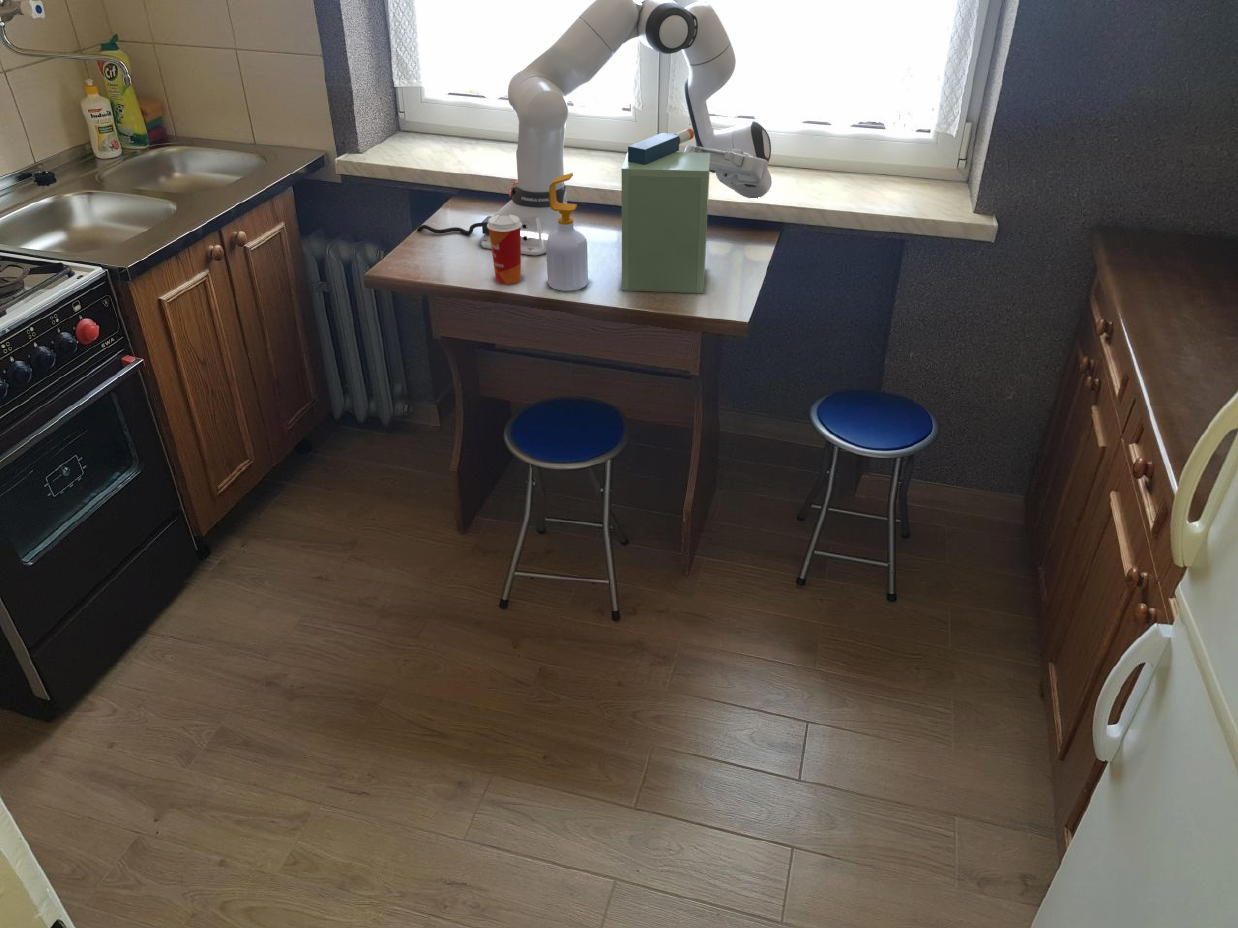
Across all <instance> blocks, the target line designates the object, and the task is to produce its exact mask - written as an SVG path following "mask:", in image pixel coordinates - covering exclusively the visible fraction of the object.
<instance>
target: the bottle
mask: <svg viewBox="0 0 1238 928" xmlns="http://www.w3.org/2000/svg"><path fill="white" fill-rule="evenodd" d="M693 138H695V136H694V132H693V128H690V127H689V128H686V129H682V130H681V131H678V132H672V133H667V132H661V133H658V134H655V135H653V136H650V137H647V138H645V139H643V140H640V141H638V142H635V143H632V144H630V145H628V146H627V152H628V162H633V163H638V164H642V165H646V164H649V163H651V162H653V161H656V160H658V159H660V158H663V157H665V156H667V155H670V154H672V153H674V152H680V145H681V144H683V143H686V142H688V141H690V140H692V139H693Z"/></svg>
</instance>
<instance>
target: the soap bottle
mask: <svg viewBox="0 0 1238 928" xmlns="http://www.w3.org/2000/svg"><path fill="white" fill-rule="evenodd" d="M573 176H574V173H573V172H570V173H568V174H564V175H562V176H559V177H557V178H556V179H555V180H554V181H553V182H552V183H551V185H550V186H549V196H550V207H551V209H552V210H554V211H559V213H560V214H562V218H559V219H558V230H557V231H555V232H553V233H552V234H551V235H550V236H549V237H548V238H547V242H546V253H545V255H546V271H547V274H546V275H547V285H548V286H549V288H552V289H554V290H557V291H562V292H571V291H572V292H573V291H574V292H575V291H578V290H581V289H583V288H585V287H586V286H587V285H589V284H588V283H589V268H588V267H589V264H588V263H589V261H588V240H587V238H586V236H585V235H584V234H583V233H582V232H580V231H579V230H577V229H575V228H574V226H575V225H574V218H573V217H571V216H570V215H571V214H573V212H575V210H576V209H577V208H578V204H577V203H568V202H567V203H558V201H557V199H556V184H557V183H561V182H564V183H565V182H567V181H569V180H571V179H572V177H573Z"/></svg>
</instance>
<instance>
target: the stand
mask: <svg viewBox="0 0 1238 928" xmlns="http://www.w3.org/2000/svg"><path fill="white" fill-rule="evenodd" d="M710 173H711V172H710V153H691V152H684V151H677V152H674V153H672V154H670V155H667V156H665V157H663V158H660V159H658V160H656V161H653V162H651V163H649V164H646V165H642V164H638V163H633V162H628V151H627V152H626V155H625V157H624V160H623V164H622V166H621V291H633V292H657V293H659V292H661V293H685V294H704V284H705V272H706V255H707V233H708V215H709V214H708V213H709V194H710V193H709V192H710V191H709V190H710V175H711V174H710Z"/></svg>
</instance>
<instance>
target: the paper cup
mask: <svg viewBox="0 0 1238 928" xmlns="http://www.w3.org/2000/svg"><path fill="white" fill-rule="evenodd" d="M492 216H493V217H491V218H490V219H489V221H488V224H487V228H488V229H489V234H490V241H491V248H492V249H491V254H492V262H493V269H494V275H495V280H496V282H498V283H499V284H504V285H512V284H516V283H518V282H520V281H521V278H522V254H521V226H522V223H521V222H520V219H519V218H518V217H517V216H514V215H509V216H507V215H502V216H499V215H497V216H494V215H492Z"/></svg>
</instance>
